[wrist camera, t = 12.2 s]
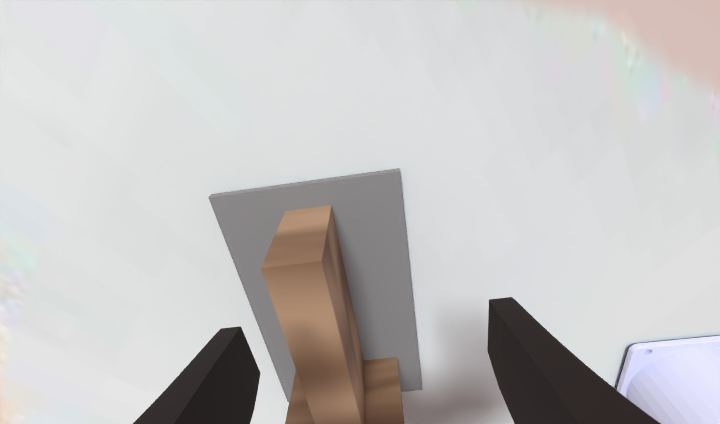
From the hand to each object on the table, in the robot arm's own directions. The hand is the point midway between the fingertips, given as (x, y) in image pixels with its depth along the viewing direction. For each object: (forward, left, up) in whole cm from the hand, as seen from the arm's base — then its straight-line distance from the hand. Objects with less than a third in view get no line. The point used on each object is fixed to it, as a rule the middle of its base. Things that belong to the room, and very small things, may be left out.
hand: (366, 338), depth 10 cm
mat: (+3, +7, -9) cm, 12 cm away
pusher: (+3, +6, -9) cm, 11 cm away
